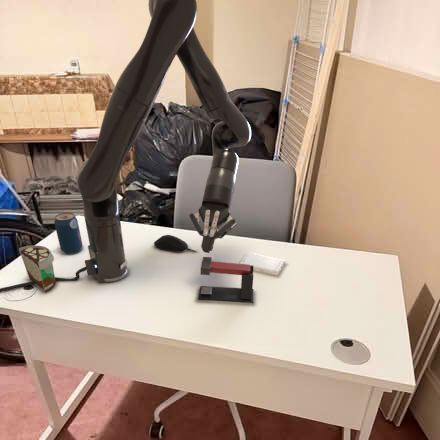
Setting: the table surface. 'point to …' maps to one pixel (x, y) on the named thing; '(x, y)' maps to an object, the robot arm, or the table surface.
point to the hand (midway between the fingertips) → (206, 251)
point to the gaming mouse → (171, 244)
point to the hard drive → (263, 263)
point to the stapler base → (230, 291)
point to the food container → (39, 266)
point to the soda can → (68, 233)
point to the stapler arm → (223, 267)
